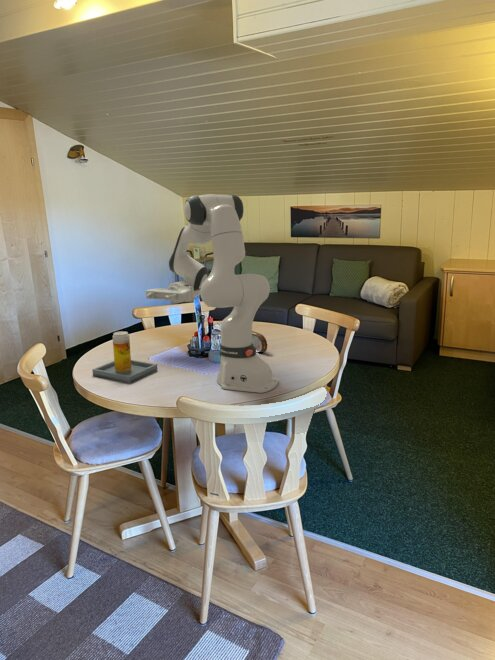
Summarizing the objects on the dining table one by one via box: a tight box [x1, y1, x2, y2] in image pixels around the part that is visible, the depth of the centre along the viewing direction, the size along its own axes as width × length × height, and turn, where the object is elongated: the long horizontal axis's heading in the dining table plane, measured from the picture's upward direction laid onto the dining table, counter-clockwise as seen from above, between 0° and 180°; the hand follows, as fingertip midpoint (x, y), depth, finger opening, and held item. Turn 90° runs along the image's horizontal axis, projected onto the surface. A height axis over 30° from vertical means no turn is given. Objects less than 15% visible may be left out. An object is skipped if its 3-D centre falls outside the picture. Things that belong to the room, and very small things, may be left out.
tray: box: [92, 359, 158, 384], centre depth 185 cm, size 18×16×2 cm
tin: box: [251, 330, 268, 353], centre depth 212 cm, size 15×3×8 cm, turn 34°
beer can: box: [112, 330, 132, 373], centre depth 183 cm, size 6×6×15 cm
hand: (157, 297), depth 194 cm, fingers open, 8 cm apart
